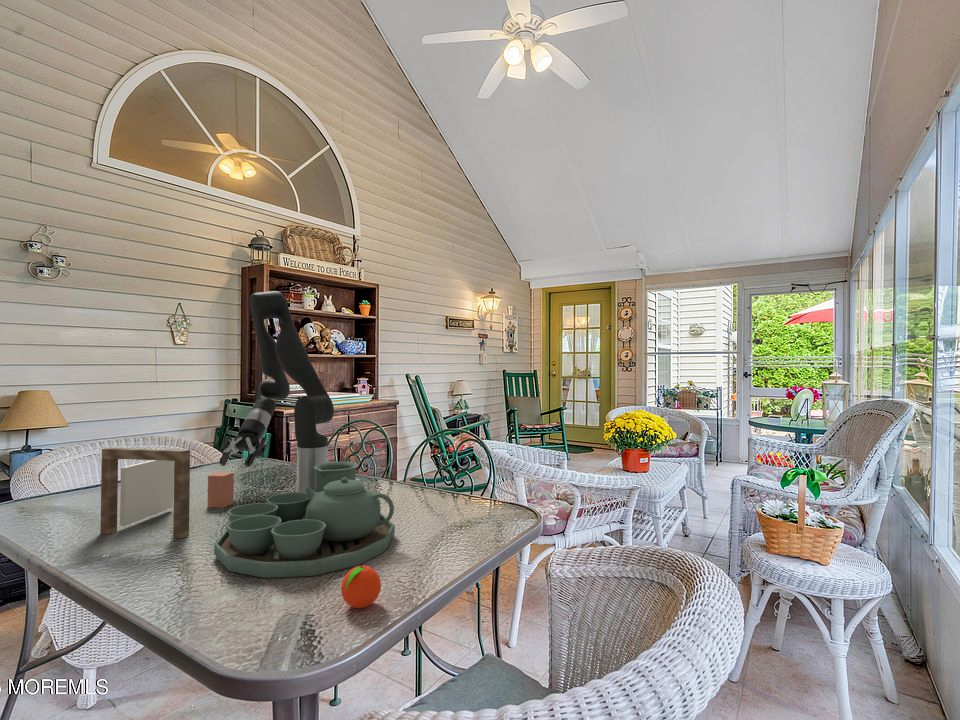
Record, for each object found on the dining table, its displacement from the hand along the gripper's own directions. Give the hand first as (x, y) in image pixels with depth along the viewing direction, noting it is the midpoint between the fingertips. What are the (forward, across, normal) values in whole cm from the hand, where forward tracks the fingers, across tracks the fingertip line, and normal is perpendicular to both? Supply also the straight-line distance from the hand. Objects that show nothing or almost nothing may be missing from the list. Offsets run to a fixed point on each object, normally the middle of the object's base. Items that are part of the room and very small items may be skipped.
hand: (234, 465), depth 158 cm
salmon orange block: (+12, 0, +3) cm, 13 cm away
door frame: (+32, -2, -16) cm, 35 cm away
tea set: (+32, +42, -16) cm, 56 cm away
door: (+23, -11, -9) cm, 27 cm away
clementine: (+52, +65, -37) cm, 91 cm away
